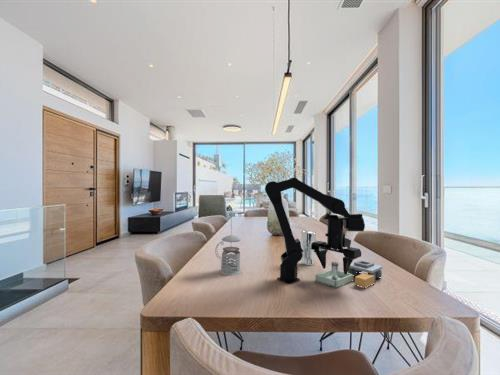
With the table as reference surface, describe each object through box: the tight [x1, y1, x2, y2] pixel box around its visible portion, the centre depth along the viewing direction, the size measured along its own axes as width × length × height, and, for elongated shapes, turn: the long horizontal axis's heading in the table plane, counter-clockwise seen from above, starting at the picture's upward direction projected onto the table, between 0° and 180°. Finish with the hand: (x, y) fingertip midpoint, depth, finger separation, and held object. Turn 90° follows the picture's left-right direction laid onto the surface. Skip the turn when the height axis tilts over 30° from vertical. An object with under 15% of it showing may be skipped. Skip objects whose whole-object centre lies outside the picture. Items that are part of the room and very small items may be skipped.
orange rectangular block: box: [354, 272, 375, 287], centre depth 100 cm, size 7×4×4 cm, turn 130°
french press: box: [214, 212, 243, 276], centre depth 114 cm, size 10×12×25 cm
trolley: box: [347, 259, 383, 281], centre depth 109 cm, size 9×10×6 cm
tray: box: [314, 268, 354, 289], centre depth 104 cm, size 12×9×2 cm
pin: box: [331, 261, 339, 280], centre depth 104 cm, size 2×2×6 cm
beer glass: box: [300, 230, 317, 266], centre depth 127 cm, size 7×7×15 cm
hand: (334, 271), depth 104 cm, fingers open, 9 cm apart
